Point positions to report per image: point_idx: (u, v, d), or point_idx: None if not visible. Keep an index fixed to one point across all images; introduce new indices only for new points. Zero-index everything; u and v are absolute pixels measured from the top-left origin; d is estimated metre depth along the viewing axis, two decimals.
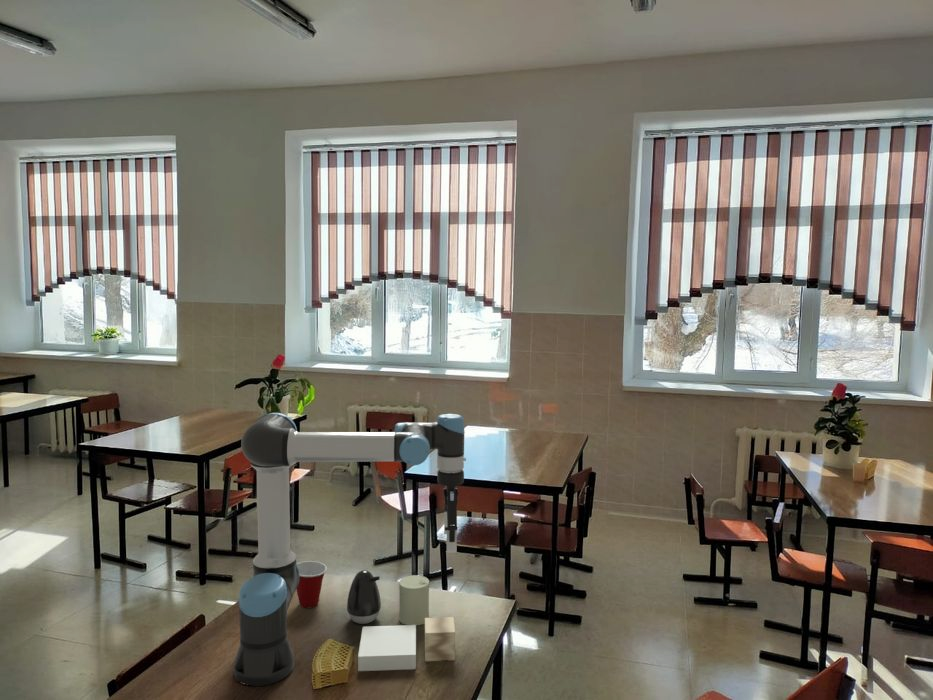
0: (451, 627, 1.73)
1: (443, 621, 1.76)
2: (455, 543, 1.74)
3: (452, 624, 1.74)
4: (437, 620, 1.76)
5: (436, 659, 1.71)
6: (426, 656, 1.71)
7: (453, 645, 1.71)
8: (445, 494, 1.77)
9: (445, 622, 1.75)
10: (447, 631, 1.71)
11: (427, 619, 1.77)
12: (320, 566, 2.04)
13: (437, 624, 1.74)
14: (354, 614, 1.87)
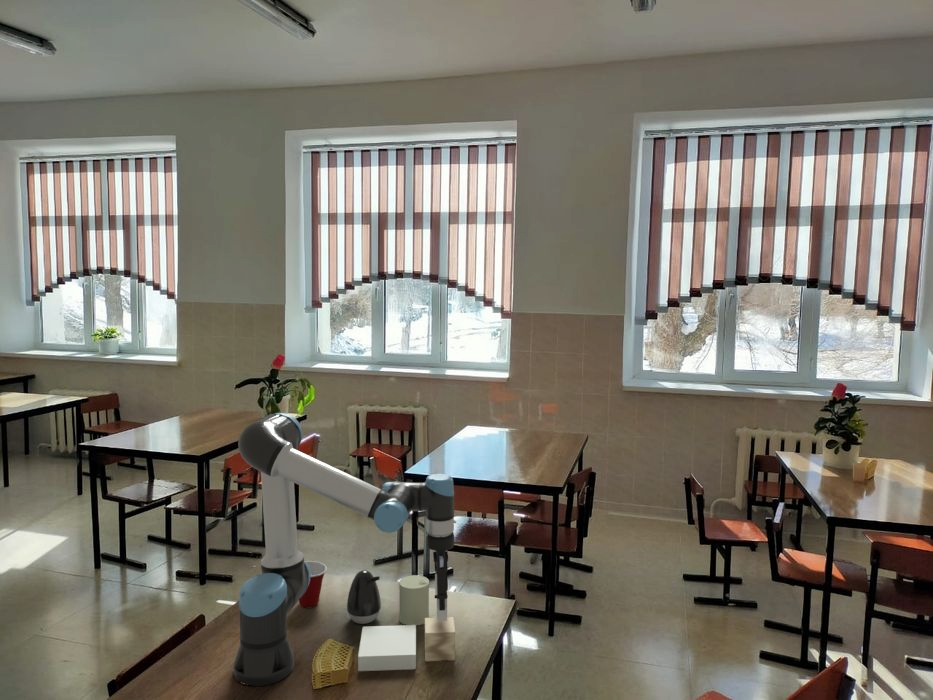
0: (451, 627, 1.73)
1: (443, 621, 1.76)
2: (445, 611, 1.66)
3: (452, 624, 1.74)
4: None
5: (436, 659, 1.71)
6: (426, 656, 1.71)
7: (453, 645, 1.71)
8: (435, 559, 1.70)
9: (445, 622, 1.75)
10: (447, 631, 1.71)
11: (427, 619, 1.77)
12: (320, 566, 2.04)
13: (437, 624, 1.74)
14: (354, 614, 1.87)
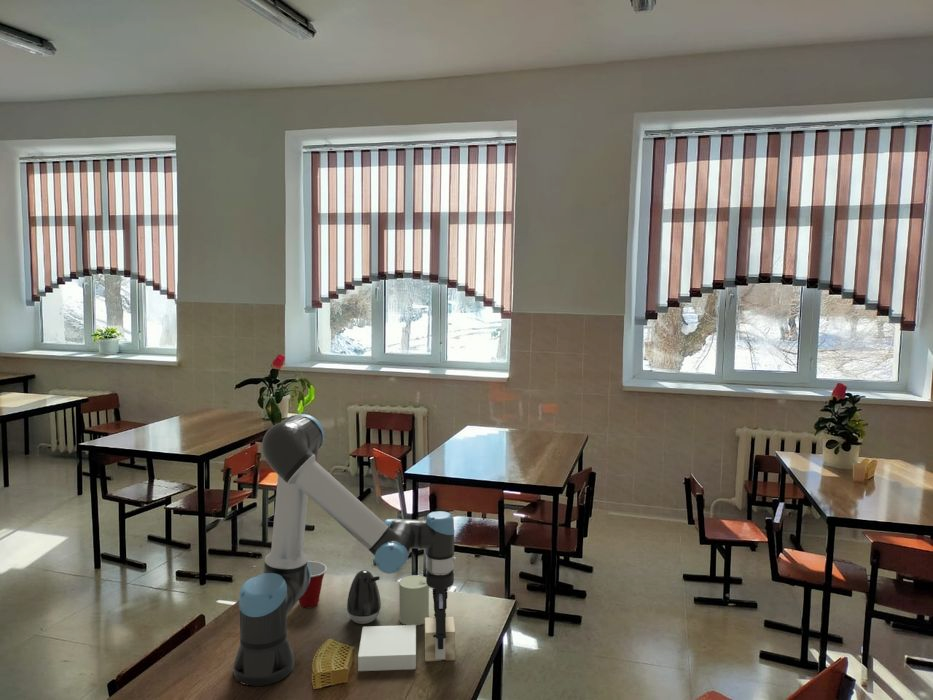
0: (451, 626, 1.73)
1: None
2: (444, 650, 1.70)
3: (452, 624, 1.74)
4: None
5: (436, 659, 1.71)
6: (426, 656, 1.71)
7: (453, 645, 1.71)
8: (434, 597, 1.71)
9: None
10: (447, 631, 1.71)
11: (427, 619, 1.77)
12: (320, 566, 2.04)
13: None
14: (354, 614, 1.87)
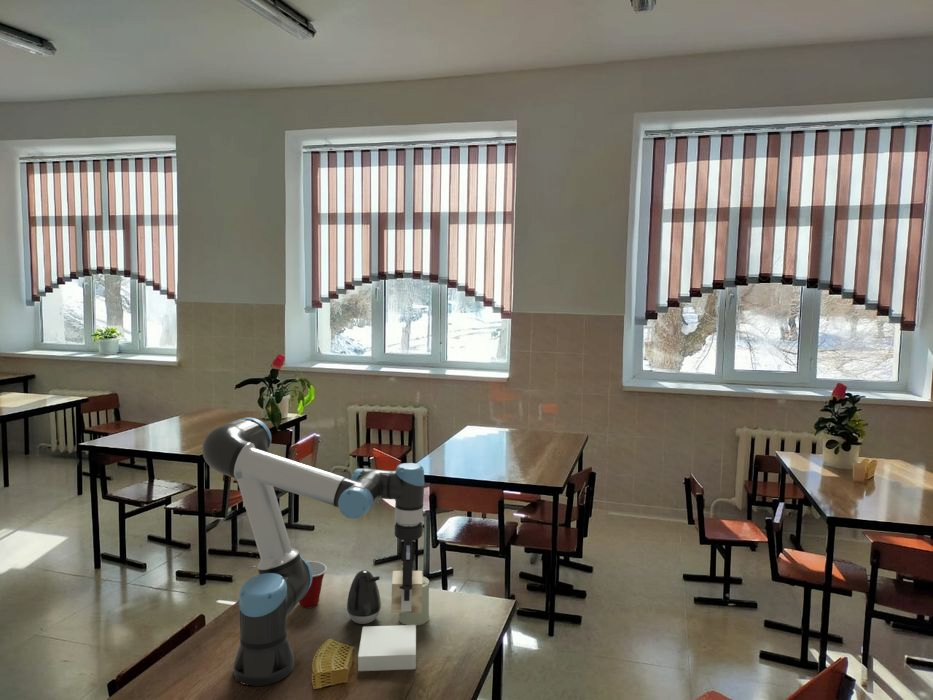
0: (419, 579, 1.71)
1: None
2: (410, 602, 1.68)
3: (420, 577, 1.73)
4: None
5: (402, 611, 1.69)
6: (392, 607, 1.69)
7: (420, 597, 1.69)
8: (402, 549, 1.69)
9: (413, 575, 1.74)
10: (414, 583, 1.69)
11: (395, 572, 1.75)
12: (320, 566, 2.04)
13: None
14: (354, 614, 1.87)
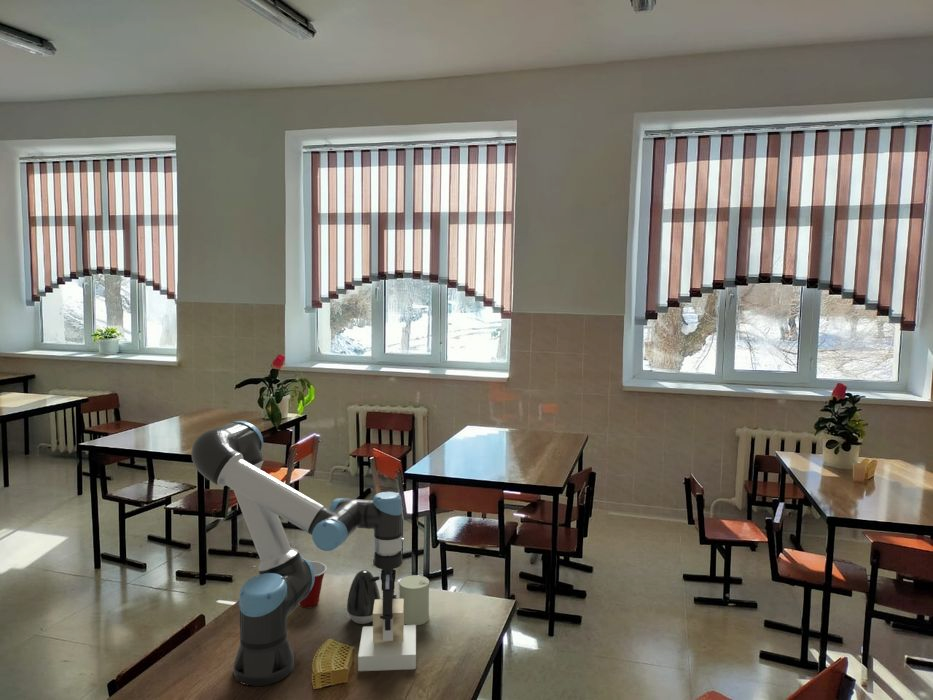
0: (400, 608, 1.71)
1: (393, 603, 1.74)
2: (391, 631, 1.68)
3: (401, 605, 1.73)
4: None
5: None
6: (374, 637, 1.69)
7: (401, 626, 1.69)
8: (382, 578, 1.70)
9: (394, 604, 1.74)
10: (395, 612, 1.69)
11: (376, 601, 1.75)
12: (320, 566, 2.04)
13: None
14: (354, 614, 1.87)
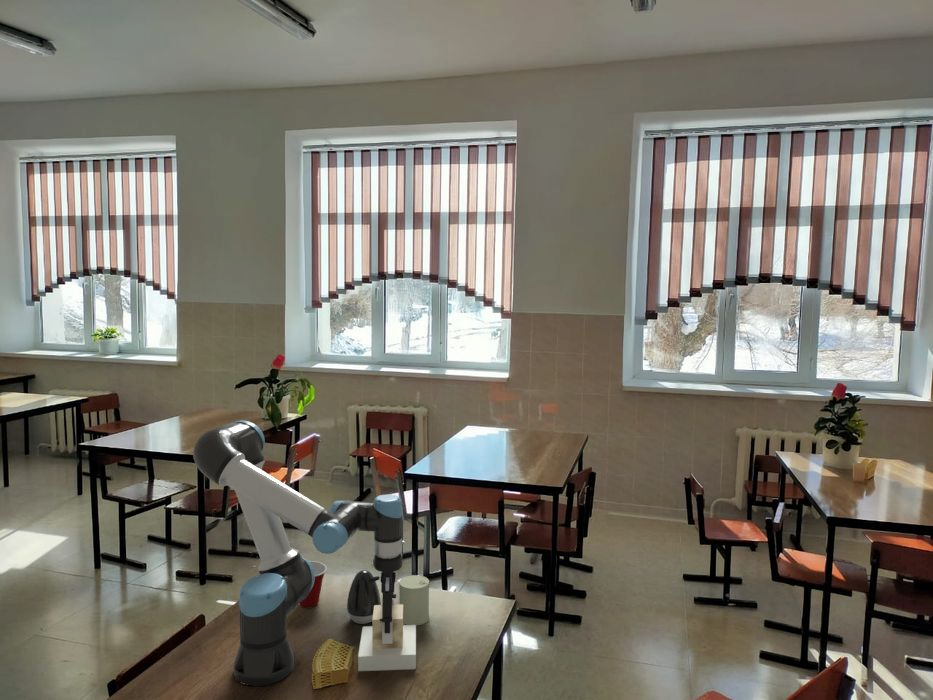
0: (400, 614, 1.72)
1: (392, 608, 1.74)
2: (391, 634, 1.67)
3: (401, 611, 1.73)
4: None
5: (383, 646, 1.69)
6: (373, 643, 1.69)
7: (401, 632, 1.69)
8: (382, 580, 1.70)
9: (394, 610, 1.74)
10: (395, 618, 1.69)
11: (376, 606, 1.75)
12: (320, 566, 2.04)
13: None
14: (354, 614, 1.87)
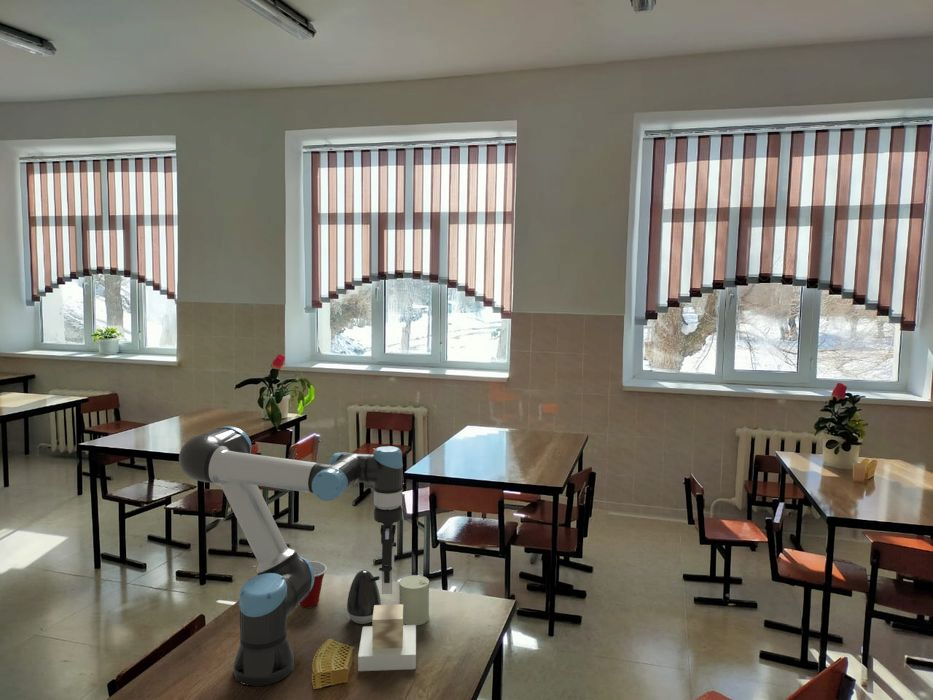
0: (400, 614, 1.72)
1: (392, 608, 1.74)
2: (390, 584, 1.65)
3: (401, 611, 1.73)
4: (386, 607, 1.75)
5: (383, 646, 1.69)
6: (373, 643, 1.69)
7: (401, 632, 1.69)
8: (382, 531, 1.68)
9: (394, 610, 1.74)
10: (395, 618, 1.69)
11: (376, 606, 1.75)
12: (320, 566, 2.04)
13: (385, 611, 1.73)
14: (354, 614, 1.87)
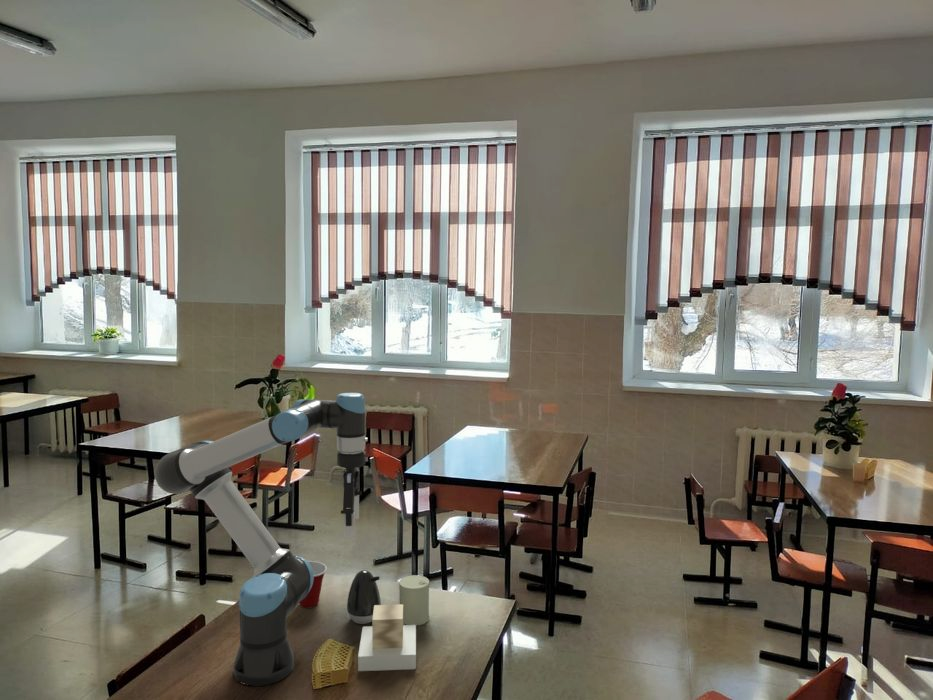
0: (400, 614, 1.72)
1: (392, 608, 1.74)
2: (352, 527, 1.66)
3: (401, 611, 1.73)
4: (386, 607, 1.75)
5: (383, 646, 1.69)
6: (373, 643, 1.69)
7: (401, 632, 1.69)
8: None
9: (394, 610, 1.74)
10: (395, 618, 1.69)
11: (376, 606, 1.75)
12: (320, 566, 2.04)
13: (385, 611, 1.73)
14: (354, 614, 1.87)
